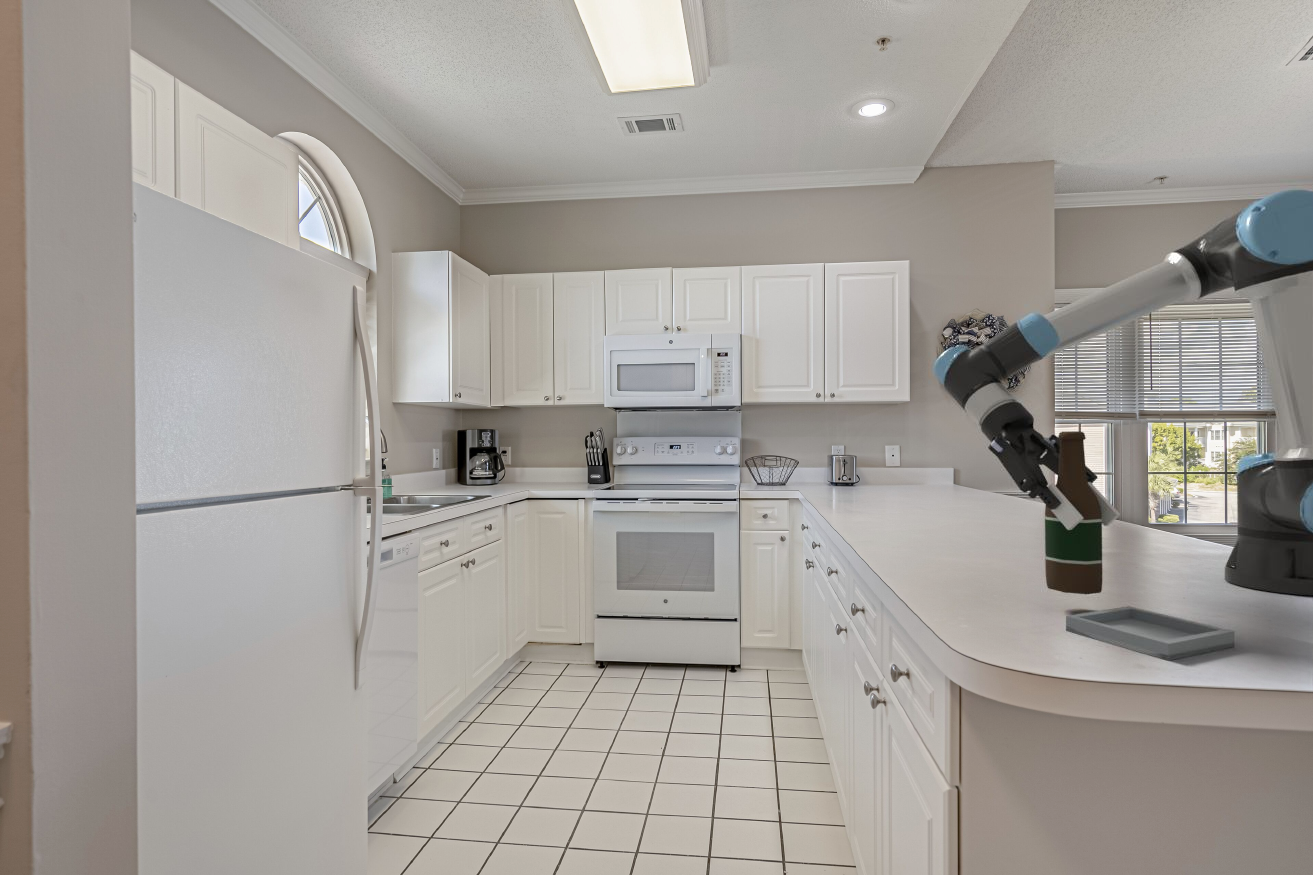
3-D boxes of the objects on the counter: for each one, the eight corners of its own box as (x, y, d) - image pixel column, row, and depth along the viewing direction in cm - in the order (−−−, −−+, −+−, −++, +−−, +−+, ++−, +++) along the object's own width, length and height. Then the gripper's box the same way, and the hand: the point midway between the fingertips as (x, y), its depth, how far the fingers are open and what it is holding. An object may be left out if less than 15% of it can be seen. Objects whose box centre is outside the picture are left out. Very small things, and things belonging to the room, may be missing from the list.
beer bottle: (1086, 582, 105) (1084, 431, 105) (1115, 595, 97) (1113, 431, 97) (1034, 582, 106) (1032, 431, 106) (1059, 594, 98) (1057, 431, 98)
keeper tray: (1128, 619, 96) (1128, 606, 96) (1234, 646, 84) (1234, 631, 84) (1066, 630, 92) (1066, 615, 92) (1168, 660, 80) (1168, 643, 80)
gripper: (1028, 430, 119) (1122, 532, 105) (942, 432, 112) (1029, 542, 97) (1055, 399, 114) (1157, 502, 100) (967, 399, 107) (1063, 510, 92)
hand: (1094, 522), depth 98 cm, fingers closed on beer bottle, 7 cm apart
